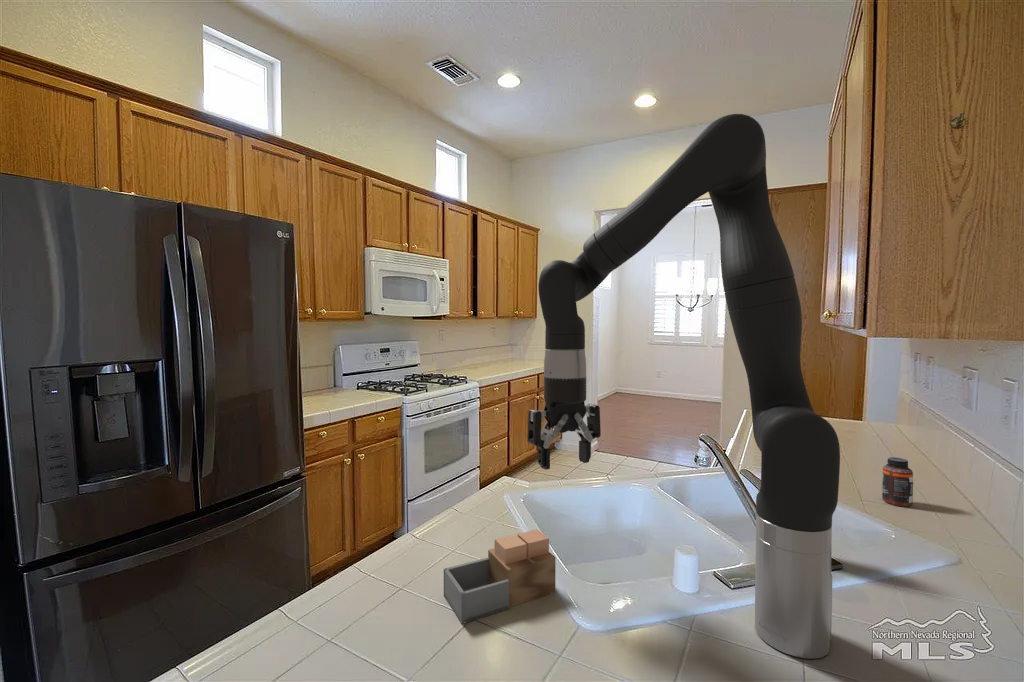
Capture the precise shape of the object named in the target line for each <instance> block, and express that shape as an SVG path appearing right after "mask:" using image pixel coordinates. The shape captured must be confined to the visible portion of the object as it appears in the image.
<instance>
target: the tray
mask: <svg viewBox="0 0 1024 682" xmlns="http://www.w3.org/2000/svg"><path fill="white" fill-rule="evenodd" d="M443 597H444V598H445V600H446V602H447V603H448V605H449V606H450V607H451V610H452V611H453V612H454V615H456V617H457V619H458V621H459V623H460V624H461V625H463V624H467V623H471V622H472V621H476V620H479V619H483V618H485V617H486V618H487V617H489V616H492V615H495V614H497V613H501V612H505V611H507V610H510V607H509V580H508V579H506V580H503V581H499V582H496V583H492V584H491V583H490V582H489V559H488V557H485V558H484V557H483V558H481V559H478V560H477V559H476V560H472V561H469V562H464V563H460V564H457V565H452V566H449V567H445V568H443Z"/></svg>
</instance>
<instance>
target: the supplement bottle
mask: <svg viewBox="0 0 1024 682" xmlns="http://www.w3.org/2000/svg"><path fill="white" fill-rule="evenodd" d="M881 479H882V487H881V489H882V491H881V493H882V494H881V496H882V498H881V499H882V500H883V501H884V502H885V503H887V504H890V505H894V506H897V507H911V506H913V500H914V499H913V497H914V494H913V493H914V472H913V470H912V469H911V468H909V461H908V459H906V458H902V457H895V456H890V457H887V463H886V464H885V465H884V466H883V467H882V478H881Z"/></svg>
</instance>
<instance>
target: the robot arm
mask: <svg viewBox="0 0 1024 682" xmlns="http://www.w3.org/2000/svg"><path fill="white" fill-rule="evenodd" d="M766 147H767V146H766V137H765V133H764V130H763V128H762V126H761V124H760V123H759V122H758V121H757V120H756V119H755V118H754V117H752V116H750V115H747V114H743V113H732V114H727V115H724V116H721V117H719V118H718V119H716V120H714V121H713V122H711V123H710V124H709V125H708V126H706V128H704V130H703V131H701V133H700V134H699V135H698V136H696V138H695V139H694V140H693V141H692V142H691V144H690V145H688V147H687V148H686V149H684V151H683V152H682V153H681V155H679V156H678V158H677V159H676V160H674V162H673V163H672V164H671V165H670V166H669V167H668V168H667V169H666V170H665V171H664V172H663V173H662V174H661V175H660V176H659V177H658V178H657V179H656V180H655V181H654V182H653V183H652V184H651V185H649V187H648V188H647V189H645V190H644V191H643V192H642V193H641V194H640V195H639V196H637V198H635V199H634V200H633V201H631V202H630V203H629V204H628V205H627V206H626V207H625V208H624V209H622V210H621V211H620V212H619V213H617V214H616V215H615V216H614V217H612V218H611V219H610V220H609V221H608V222H607V223H605V224H604V225H602V226H601V227H600V228H598V230H596V231H595V232H594V233H592V234H591V235H589V236H590V237H589V236H588V238H587V239H586V240H585V241H584V243H583V245H582V252H581V253H580V254H579V255H578V256H577V257H576V258H575V259H574V260H573V261H571V262H568V261H565V260H560V259H558V260H552V261H550V262H548V263H547V264H546V265H545V266H544V267H543V268H542V271H541V272H540V274H539V278H538V285H537V286H538V287H537V288H538V296H539V303H540V307H541V312H542V318H543V320H544V324H545V331H544V333H545V335H544V336H545V339H544V340H545V342H544V343H545V344H544V345H545V346H544V348H545V349H544V360H543V399H544V408H543V410H542V409H539V410H536V409H534V408H533V409H532V408H530V409H529V410H528V416H527V418H528V420H527V440H526V441H527V442H528V444H531V445H533V446H536V447H537V464H538V465H539V467H540V468H541V469H543V470H550V468H551V448H550V446H551V444H552V442H553V440H554V439H556V438H557V437H558V435H559V434H563V433H567V432H575V433H576V434H577V436H578V437H579V439H580V440H579V441H578V459H579V460H578V461H579V462H581V463H584V464H587V463H590V460H591V457H592V442H593V441H594V439H596V438H597V439H599V438H600V437H601V434H602V433H601V431H602V430H601V408H600V406H599V405H598V404H593V403H587V404H586V403H585V402H586V401H587V358H586V349H585V348H586V327H585V323H584V320H583V318H582V317H580V316H579V314H578V308H577V306H578V305H577V302H579V301H582V300H583V299H584V298H586V297H587V296H589V295H590V294H591V293H592V292H593V291H595V290H596V289H597V288H598V287H599V286H600V285H601V284H602V283H603V282H604V281H605V280H606V279H607V278H608V276H609V275H610V274H611V273H612V272H613V271H615V270H616V269H617V268H619V267H621V266H622V265H623V264H624V263H626V262H628V261H629V260H630V259H631V258H633V257H634V256H636V255H637V254H639V252H640V251H642V250H643V249H644V248H645V247H646V246H647V245H649V244H650V243H651V242H652V241H653V240H654V239H655V238H656V237H657V236H658V235H659V234H660V233H661V231H662V230H663V229H665V227H666V226H667V225H668V224H669V223H670V222H671V221H672V220H673V219H674V218H675V217H676V216H677V215H678V214H680V213H681V212H682V211H683V210H684V209H685V208H686V207H688V206H689V205H691V204H692V203H693V202H695V201H696V200H698V199H699V198H700V197H702V196H704V195H705V194H707V193H708V194H709V198H710V200H711V204H712V208H713V211H714V213H715V217H716V221H717V226H718V229H719V238H720V239H719V240H720V241H719V243H720V244H719V245H720V247H719V248H720V250H719V251H720V253H719V254H720V269H721V270H720V271H721V281H722V288H723V292H724V297H725V301H726V307H727V310H728V314H729V319H730V322H731V325H732V329H733V334H734V338H735V341H736V345H737V348H738V350H739V353H740V357H741V360H742V363H743V367H744V370H745V372H746V378H747V382H748V391H749V399H750V405H751V407H750V408H751V419H752V430H753V431H752V432H753V438H754V441H755V444H756V446H757V448H758V449H759V452H761V453H760V454H761V459H760V460H761V461H760V463H761V464H760V465H761V468H760V488H759V491H758V493H757V494H756V498H755V499H756V500H755V567H754V568H755V569H754V571H755V572H754V573H755V575H754V580H755V581H754V582H755V586H754V630H755V631H756V633H757V635H758V636H759V637H760V638H761V639H762V641H764V643H767V644H768V645H770V646H771V647H772V648H774V649H775V650H778V651H780V652H782V653H784V654H787V655H790V656H793V657H797V658H801V659H820V658H824V657H825V656H827V655H828V654H829V653H830V648H831V640H832V624H833V622H832V621H833V620H832V619H833V614H832V613H833V575H832V552H833V551H832V541H833V540H832V536H833V527H832V526H833V515H834V513H835V511H836V510H837V509H836V508H837V506H838V501H839V491H840V490H839V487H840V470H841V468H840V467H841V450H840V449H841V447H840V442H839V441H840V440H839V437H838V435H837V432H836V430H835V429H834V427H833V425H831V423H830V422H829V421H828V420H827V419H826V418H824V417H822V416H821V415H819V414H817V413H816V412H815V411H814V408H813V405H812V403H811V399H810V396H809V394H808V390H807V388H806V387H807V386H806V384H805V381H804V375H803V371H802V365H801V349H802V346H801V345H802V333H803V332H802V331H803V330H802V329H803V321H802V320H803V316H802V315H803V314H802V305H801V299H800V296H799V291H798V287H797V282H796V279H795V274H794V270H793V266H792V263H791V262H792V261H791V259H790V257H789V254H788V251H787V248H786V245H785V242H784V240H783V238H782V236H781V234H780V232H779V229H778V226H777V224H776V223H775V220H774V216H773V213H772V208H771V203H770V195H769V188H768V187H769V186H768V180H767V179H768V178H767V163H766V162H767V151H766V149H767V148H766ZM585 416H586V422H585V421H584V418H585ZM544 419H545V420H546V421H545V423H544V425H543V426H542V423H543V422H544Z"/></svg>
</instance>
